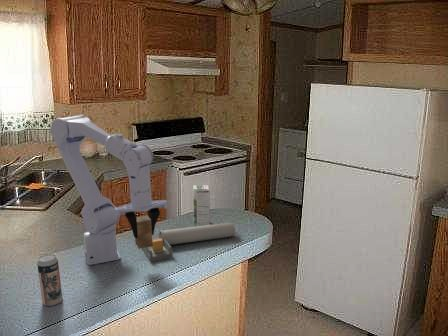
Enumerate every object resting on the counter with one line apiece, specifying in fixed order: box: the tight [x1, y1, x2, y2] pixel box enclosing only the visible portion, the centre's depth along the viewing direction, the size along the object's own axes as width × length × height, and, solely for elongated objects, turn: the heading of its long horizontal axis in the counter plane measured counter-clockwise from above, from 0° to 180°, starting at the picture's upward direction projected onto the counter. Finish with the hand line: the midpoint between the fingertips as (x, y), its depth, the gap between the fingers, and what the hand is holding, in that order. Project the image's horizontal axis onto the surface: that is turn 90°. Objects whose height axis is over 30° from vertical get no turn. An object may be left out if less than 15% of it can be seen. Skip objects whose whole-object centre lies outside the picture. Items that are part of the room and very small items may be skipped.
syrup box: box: [192, 184, 211, 227], centre depth 152 cm, size 6×6×14 cm
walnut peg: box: [134, 214, 153, 250], centre depth 121 cm, size 4×4×8 cm
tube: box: [159, 222, 236, 246], centre depth 140 cm, size 5×5×25 cm
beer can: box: [36, 253, 64, 307], centre depth 105 cm, size 5×5×12 cm
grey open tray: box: [141, 232, 174, 263], centre depth 132 cm, size 12×7×4 cm, turn 24°
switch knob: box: [152, 238, 163, 251], centre depth 130 cm, size 2×3×3 cm, turn 114°
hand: (143, 235), depth 121 cm, fingers closed on walnut peg, 4 cm apart
